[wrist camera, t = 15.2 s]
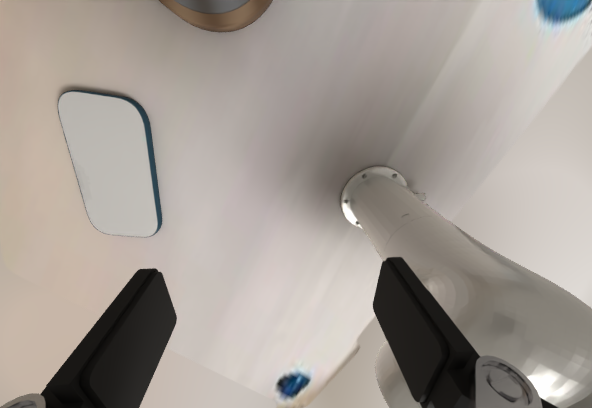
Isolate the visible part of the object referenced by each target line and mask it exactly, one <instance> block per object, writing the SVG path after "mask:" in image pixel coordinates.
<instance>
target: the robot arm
mask: <svg viewBox="0 0 592 408" xmlns="http://www.w3.org/2000/svg"><path fill="white" fill-rule="evenodd" d="M363 174H364V175H363ZM362 175H363V176H362ZM345 199H346V200H345ZM425 199H426V195H425V193H416V194H414V193H413V192H412V191H410V190H409V189H408V186H407V183H406V181H405V179H404V178H403V176H402V175H401V174H399V173H398V172H397V171H395V170H393V169H391V168H389V167H384V166H375V167H370V168H367V169H364V170H362V171H360V172H359V173H357V174H356V175H355V176H353V177H352V178H351V179H350V180H349V182H348V183H347V184H346V186H345V188H344V190H343V192H342V195H341V208H342V212H343V214H344V216H345V217H346V219H347V220H348V221H349V222H350V223H351V224H353V225H354V226H357V227H360V228H363V230H364V232H365V233H366V235H367V236H368V238H369V239H370V241H371V242H372V244H373V245H374V247H375V249H376V250H377V252H378V253H379V255H380V256H381V258H382V259H383V262H382V266H381V270H380V275H379V279H378V283H377V288H376V292H375V297H374V301H373V309H374V312H375V315H376V317H377V319H378V321H379V323H380V325H381V328H382V330H383V332H384V334H385V337H386V339H387V340H386V342H385V343H384V344H383V345H382V346H381V348H380V350H379V352H378V354H377V357H376V364H375V371H376V377H377V381H378V385H379V388H380V390H381V392H382V395H383V396H384V399H385V401H386V403H387V404H388V406H389V408H592V309H591V308H590V307H589V306H588V305H586V304H585V303H583V302H582V301H581V300H579V299H578V298H577V297H575V296H574V295H572V294H571V293H569V292H567V291H566V290H564V289H563V288H561V287H559V286H558V285H556V284H554V283H553V282H551V281H549V280H547V279H545V278H543V277H541V276H540V275H538V274H536V273H534V272H532V271H530V270H528V269H526V268H524V267H522V266H521V265H519V264H517V263H515V262H513V261H511V260H509V259H507V258H505V257H504V256H502V255H500V254H499V253H497V252H495V251H493V250H492V249H490V248H488V247H487V246H485V245H483V244H482V243H480V242H479V241H477V240H476V239H474V238H473V237H471V236H470V235H468V234H467V233H465V232H464V231H462V230H461V229H459V228H458V227H457V226H455V225H454V224H453V223H451V222H450V221H448V220H447V219H446V218H444V217H443V216H441V215H440V214H439V213H437V212H436V211H435V210H433V209H432V208H430V207H429V205H428V204H425V203H424V202H422V201H424V200H425ZM176 320H177V317H176V313H175V310H174V307H173V304H172V301H171V298H170V295H169V292H168V289H167V287H166V284H165V281H164V278H163V275H162V273H161V272H158V270H157V269H140V270H138V271H137V272H136V273H135V274H134V276H133V277H132V278H131V279H130V281H129V282H128V283H127V284H126V286H125V287H124V288H123V289H122V291H121V292H120V293H119V295H118V296H117V297H116V298H115V300H114V301H113V302H112V303H111V305H110V306H109V307H108V308H107V310H106V311H105V312H104V313H103V315H102V316H101V317H100V319H99V320H98V321H97V322H96V324H95V325H94V326H93V328H92V329H91V330H90V331H89V332H88V334H87V335H86V336H85V338H84V339H83V340H82V341H81V343H80V344H79V345H78V346H77V348H76V349H75V350H74V351H73V353H72V354H71V355H70V357H69V358H68V359H67V360H66V361H65V363H64V364H63V365H62V366H61V368H60V369H59V370H58V372H57V373H56V374H55V375H54V377H53V378H52V379H51V381H50V382H49V383H48V384H47V385H46V386H47V387H46V388H45V389H44V390H43V392H42V393H41V394H27V395H24V396H21V397H18V398H16V399H14V400H12V401H10V402H8V403H6V404H5V405H3V406H1V407H0V408H139V407H140V404H141V402H142V400H143V397H144V395H145V393H146V390H147V388H148V386H149V384H150V381H151V379H152V377H153V375H154V372H155V370H156V368H157V366H158V363H159V361H160V359H161V357H162V354H163V352H164V350H165V347H166V345H167V343H168V341H169V338H170V336H171V334H172V332H173V329H174V327H175V325H176Z"/></svg>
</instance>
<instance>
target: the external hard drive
mask: <svg viewBox="0 0 592 408" xmlns="http://www.w3.org/2000/svg"><path fill="white" fill-rule="evenodd" d="M58 113H59V118H60V122H61V125H62V128H63V132H64V135H65V139H66V142H67V146H68V149H69V153H70V156H71V160H72V163H73V166H74V170H75V173H76V177H77V180H78V184H79V187H80V191H81V194H82V198H83V201H84V204H85V208H86V211H87V215H88V217H89V220H90V222H91V223H92V225H93V226H94V227H95V228H96V229H97V230H99V231H100V232H102V233H105V234H108V235H118V236H131V237H150V236H153V235H154V234H156V233H157V232H158V231H159V229H160V228H161V225H162V213H161V205H160V197H159V189H158V182H157V174H156V166H155V158H154V150H153V142H152V134H151V127H150V122H149V119H148V116H147V114H146V112H145V111H144V109H143V108H142V107H141V106H140V105H139V104H138V103H137V102H135V101H134V100H132V99H130V98H127V97H122V96H117V95H110V94H104V93H97V92H90V91H82V90H71V91H67V92H65V93H63V94H62V95H61V96H60V98H59V100H58Z"/></svg>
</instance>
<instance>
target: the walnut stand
mask: <svg viewBox="0 0 592 408" xmlns="http://www.w3.org/2000/svg"><path fill="white" fill-rule="evenodd" d="M159 1H160V2H161V3H162V4H164V5H165V6H166V7H167V8H169V9H170V10H171V11H172V12H174V13H175V14H176V15H178V16H179V17H180V18H182V19H183V20H185V21H186V22H188V23H190V24H191V25H193V26H196V27H198V28H201V29H204V30H208V31H212V32H231V31H235V30H239V29H241V28H244V27H246V26H248V25H250V24H251V23H253V22H254V21H255V20H257V19H258V18H259V17H260V16H261V15H262V14H263V13H264V12H265V11H266V9H267V8H268V7H269V5H270V4H271V2H272V1H273V0H159Z"/></svg>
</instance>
